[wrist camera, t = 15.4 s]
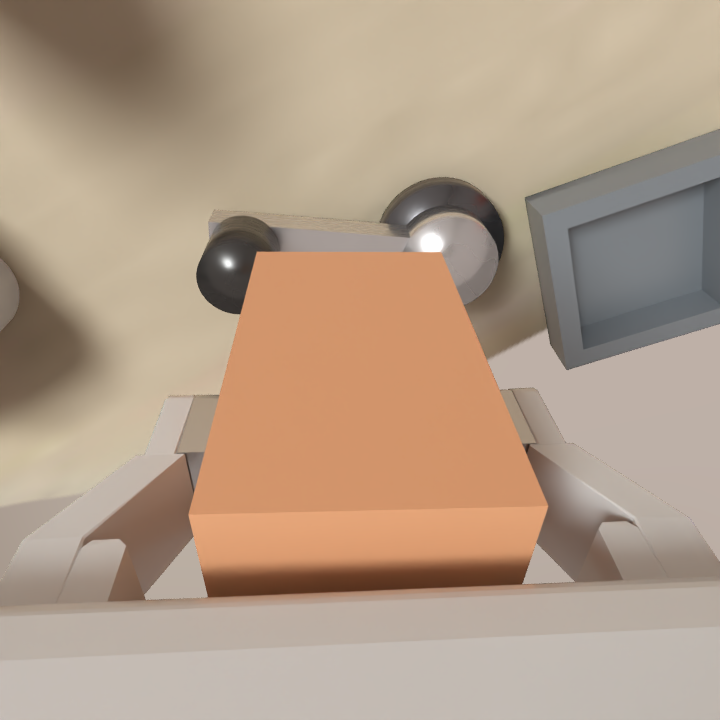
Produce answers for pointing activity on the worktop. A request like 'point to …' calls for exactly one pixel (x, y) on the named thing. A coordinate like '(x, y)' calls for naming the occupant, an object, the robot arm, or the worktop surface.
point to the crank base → (444, 194)
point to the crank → (342, 247)
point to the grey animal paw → (7, 294)
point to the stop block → (360, 438)
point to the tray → (630, 252)
